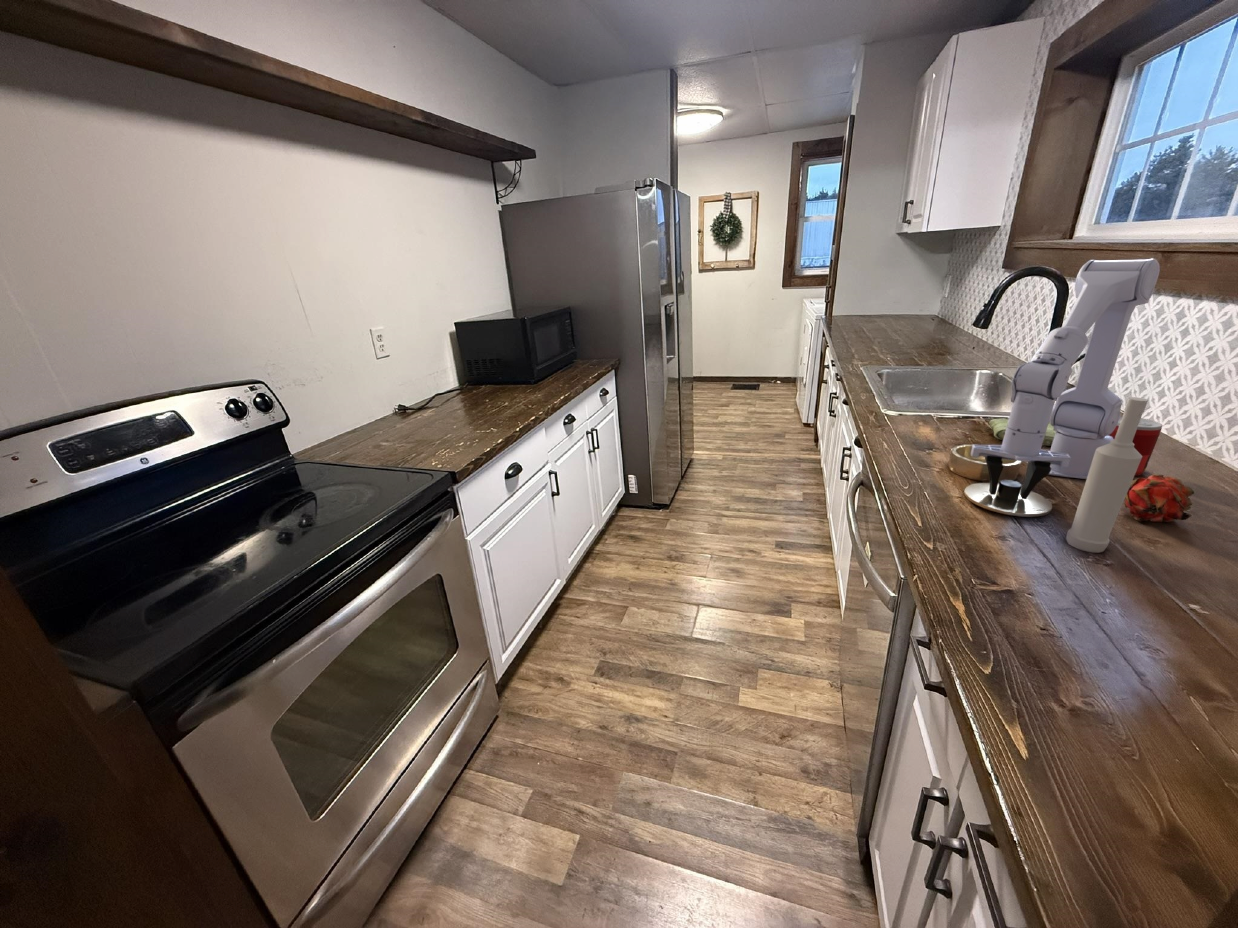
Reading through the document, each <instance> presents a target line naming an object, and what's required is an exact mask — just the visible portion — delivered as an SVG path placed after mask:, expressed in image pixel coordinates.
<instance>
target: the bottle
mask: <svg viewBox="0 0 1238 928" xmlns="http://www.w3.org/2000/svg"><path fill="white" fill-rule="evenodd" d="M1148 401H1149V400H1148V399H1147V398H1143V397H1137V396H1131V397H1128V399H1127V402H1126V403H1125V407H1124V411H1123V414H1122V416H1121V417H1122V420H1121V422H1120V425H1119V428H1118V431H1117V433H1116V436H1115V439H1114V440H1111V441H1110V443H1109V444H1106V445H1104V446H1101V447H1099V448H1097V449H1096V451H1095V454H1094V457H1093V461H1092V464H1091V467H1090V470H1089V473H1088V477H1087V479H1085V483H1084V486H1083V489H1082V493H1081V496H1080V499H1079V502H1078V505H1077V509H1076V512H1075V515H1074V519H1073V522H1072V524H1071V527H1070V528H1069V529H1068V531H1067V533H1066V536H1065V537H1066V538H1065V539H1066V540H1065V541H1066V543H1067V544H1068V545H1069V546H1071V547H1073V548H1075V549H1077V550H1080V551H1084V552H1088V553H1098V554H1099V553H1104V551H1105V550H1106V549H1107V547H1108V546H1109V544H1110V542H1111V540H1110V535H1111V532H1112V530H1113V528H1114V527H1115V523H1116V521H1117V518H1118V517H1119V514H1120V511H1121V509H1122V507H1123V504H1124V503H1125V497H1126V495H1127V492H1128V490H1129V487H1130V485H1131V483H1132V481H1133V480H1134V478H1135V476H1134V475H1135V473H1136V471H1137V468H1138V466H1139V463H1140V461H1141V459H1142V455H1141V454H1140V453H1139V452H1138V451H1137V450H1136V449H1135V448H1134V445H1135V444H1134V443H1133V442H1132V441H1133V438H1134V436H1135V433H1136V430H1137V427H1138V425H1139V422H1140V419H1141V418H1142V416H1143V415H1144V412H1145V410H1146V408H1147V404H1148Z"/></svg>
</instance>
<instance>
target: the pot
mask: <svg viewBox="0 0 1238 928" xmlns="http://www.w3.org/2000/svg"><path fill="white" fill-rule="evenodd" d="M972 446H973V444H961V445H955V446H953V448H951V450H950V455H949V459H948V469H949V471H951V472H952V473H954V474H955V475H958V476H961V477H963V478H966V479H970V480H973V481H978V482H982V483H990V479H989V471H988V467H987V463H986V460H985V457H980V456H979V457H972V456H971V450H972ZM1002 461H1003V463H1002V464H1003V470H1002V472H1001V475H1000V477H999V480H998V483H1000V481H1001V480H1012V481H1016V479H1017V478H1018V476H1019V473H1020V470H1021V467H1022V463H1023V461H1016V460H1007V459H1002Z"/></svg>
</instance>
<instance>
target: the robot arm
mask: <svg viewBox="0 0 1238 928" xmlns="http://www.w3.org/2000/svg"><path fill="white" fill-rule="evenodd" d="M1160 271H1161V268H1160V262H1158V259H1157V258H1149V259H1116V260H1115V259H1114V260H1096V259H1090V260H1088V261H1087V262H1086V263H1084V264H1083V265H1082V266H1081V267H1080V269H1079V270H1078V273H1077V275H1076V278H1075V284H1074V290H1075V298H1076V300H1075V301H1074V304H1073V306H1072V307H1071V309H1070V311H1069V313H1068V315H1067V317H1066V319H1065V320H1064V322H1063V324H1062V326H1061V327H1057V328H1054V329H1052V330H1051V331H1049V333H1048V334H1047V336H1046V338H1045V339H1044V340H1043V342H1042V343H1041V344H1040V346H1039V347H1038V349H1037V351H1036V352H1035V353H1034V355H1033V357H1032V358H1031V359H1030V361H1027V362H1026V363H1022V364H1021V365H1019V366H1018V367H1017V369H1016V371H1015V373H1014V375H1013V377H1012V380H1011V396H1010V402H1011V403H1012V404H1011V405H1012V406H1011V410H1010V413H1009V417H1008V419H1009V420H1008V424H1007V428H1006V431H1005V435H1004V439H1003V440H1002V442H1001V444H974V443H973V444H972V445H973V446H972V450H971V456H972V457H979V456H980V457H985V460H986V463H987V467H988V471H989V479H990V482H989V483H990V487H989V492H990V494H991V495H995V493H996V490H997V485H998V480H999V477H1000V475H1001V472H1002V470H1003V464H1002V463H1003V461H1002V459H1007V460H1016V461H1022V462H1024V463H1025V462H1026V463H1027V466H1026V472H1025V477H1024V480H1023V483H1022V484H1021V485H1022V487H1021V491H1020V496H1021V498H1022V499H1027V497H1028V495H1029V494H1030V492H1031V491H1033V490H1034V488H1036V486H1037V485H1038V484H1039V483H1040V482H1041V481H1042V480H1043V479H1044V478H1046V477H1047V476H1054V477H1064V478H1072V479H1082V480H1087V477H1088V473H1089V470H1090V467H1091V464H1092V461H1093V457H1094V454H1095V451H1096V449H1097V448H1099V447H1101V446H1104V445H1106V444H1109V443H1110V441H1111V440H1114V439H1113V437H1111V436H1107V435H1109V434H1111V433H1112V432H1113V431H1114V429H1115V428H1116V426H1117V424H1118V421H1119V418H1120V417H1121V409H1122V405H1123V400H1122V399H1121V397H1120V396H1118V395H1116V393H1114V392H1113V391H1111V390H1110V389H1109V385H1110V383H1111V379H1112V377H1113V372H1114V370H1115V366H1116V364H1117V360H1118V357H1119V354H1120V351H1121V348H1122V345H1123V342H1124V339H1125V335H1126V332H1127V329H1128V327H1129V323H1130V320H1131V317H1132V314H1133V313H1134V310H1135V309H1136V308H1137V307H1138V306H1142V305H1146V304H1148V303H1149V301H1150V300H1151V298H1152V296H1153V293H1154V290H1155V287H1156V285H1157V282H1158V278H1159V275H1160ZM1092 327H1093V328H1092ZM1091 328H1092V332H1091V335H1090V339H1089V337H1088V335H1087V333H1088V331H1089V330H1090V329H1091ZM1087 345H1088V346H1087ZM1086 347H1087V349H1086V352H1085V355H1084V358H1083V362H1082V365H1081V369H1080V372H1079V376H1078V378H1077V382H1076V385H1075V386H1074V387H1072V388H1069V389H1066V388H1067V385H1068V382H1069V379H1070V377H1071V375H1072V372H1073V366H1074V364H1075V363H1076V362H1077V360H1078V358H1079V357H1080V355H1081V354H1082V353H1083V351H1084V350H1085V348H1086ZM1065 389H1066V390H1065ZM1049 422H1050V424H1051V426H1053V427H1054V429H1053V430H1054V431H1056V433H1055V436H1054V440H1053V443H1052V446H1051V447H1050V450H1045V449H1042V446H1043V445H1042V443H1043V440H1044V436H1045V433H1046V430H1047V426H1048V423H1049Z"/></svg>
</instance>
